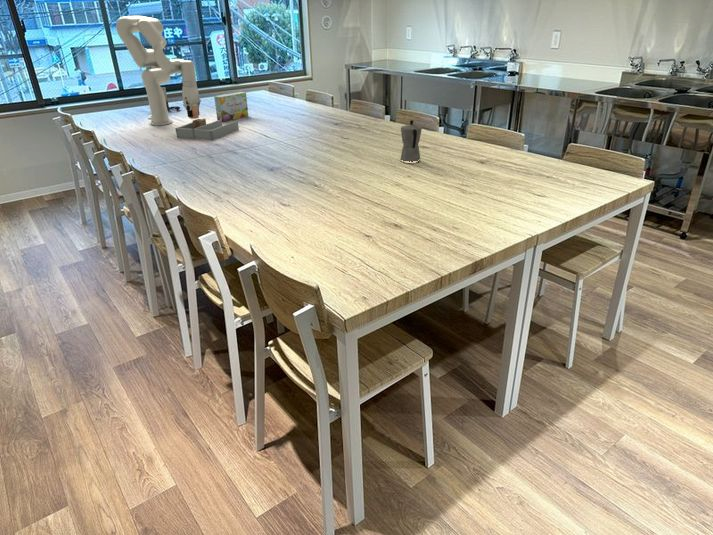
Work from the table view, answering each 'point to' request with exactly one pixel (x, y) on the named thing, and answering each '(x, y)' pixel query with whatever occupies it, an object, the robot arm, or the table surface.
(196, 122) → the walnut block
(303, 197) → the table surface
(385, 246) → the table surface
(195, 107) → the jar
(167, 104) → the milk frother
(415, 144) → the coffeepot
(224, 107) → the snack box
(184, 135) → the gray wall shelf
